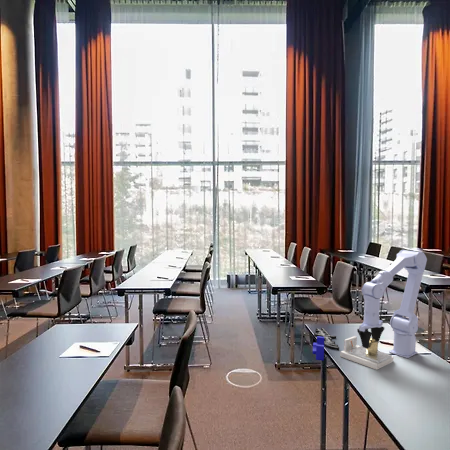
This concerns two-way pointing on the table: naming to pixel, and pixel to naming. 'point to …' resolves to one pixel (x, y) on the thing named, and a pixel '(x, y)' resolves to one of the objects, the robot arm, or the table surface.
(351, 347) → the scale base
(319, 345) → the blue stepped block
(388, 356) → the pan
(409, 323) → the robot arm
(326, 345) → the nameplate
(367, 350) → the brass weight
